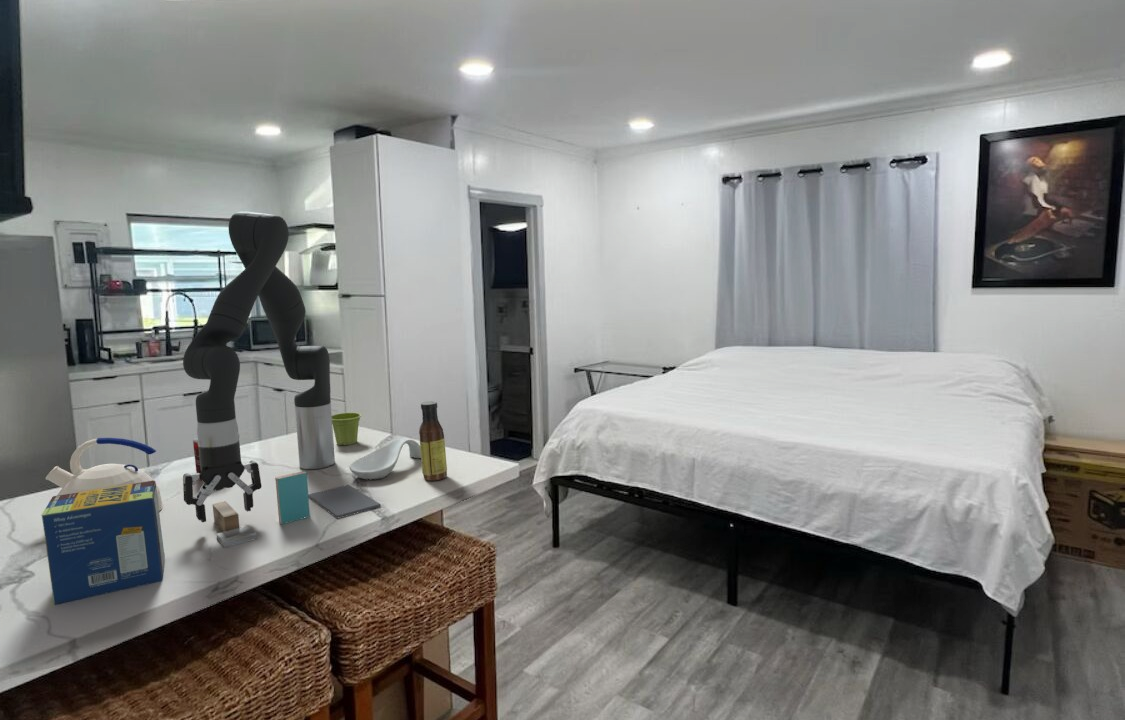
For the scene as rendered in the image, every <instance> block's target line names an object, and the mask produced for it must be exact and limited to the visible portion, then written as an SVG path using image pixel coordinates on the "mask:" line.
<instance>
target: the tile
mask: <svg viewBox="0 0 1125 720" xmlns="http://www.w3.org/2000/svg"><path fill="white" fill-rule="evenodd" d="M274 481H275V490H276V500H277V513H278V523H279V524H280V525H284V524H287V523H286V522H288V523H291V522H290V521H292V522H295V521H294V520H296V521H298V519H300V520H302V519H301V518H303V519H305V518H304V517H307V518H309V517H308V516H310V517H311V513H310V512H311V511H310V500H309V499H310V498H309V497H308V494H309V483H308V473H307V472H306V471H304V470H303V471H299V472H294V473H289V474H285V475H280V476H275V479H274ZM283 523H284V524H283Z"/></svg>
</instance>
